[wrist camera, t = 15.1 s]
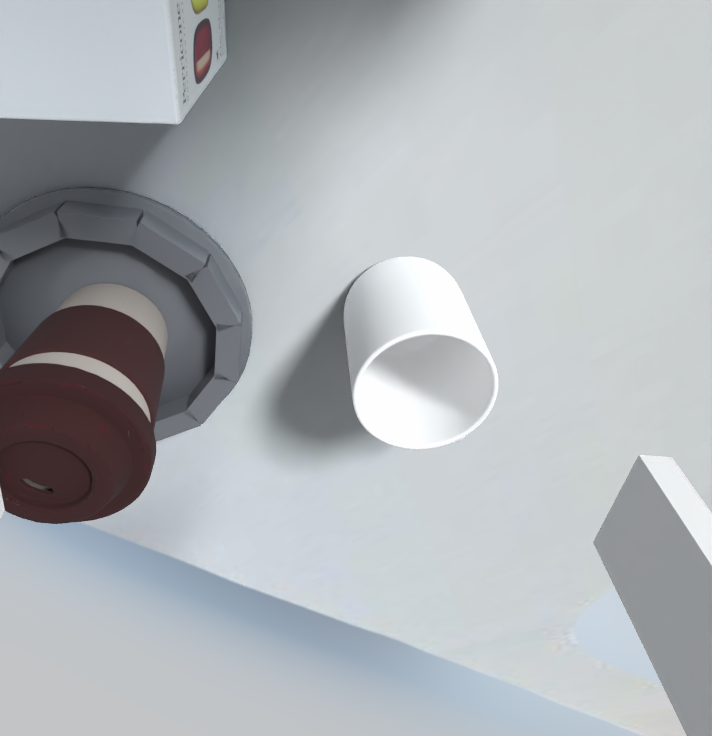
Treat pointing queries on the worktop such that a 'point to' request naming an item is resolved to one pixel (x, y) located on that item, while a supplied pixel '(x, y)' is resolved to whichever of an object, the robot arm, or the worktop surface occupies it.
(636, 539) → the robot arm
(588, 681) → the worktop surface
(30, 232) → the bowl
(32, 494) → the coffee cup
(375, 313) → the mug
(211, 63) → the supplement box
